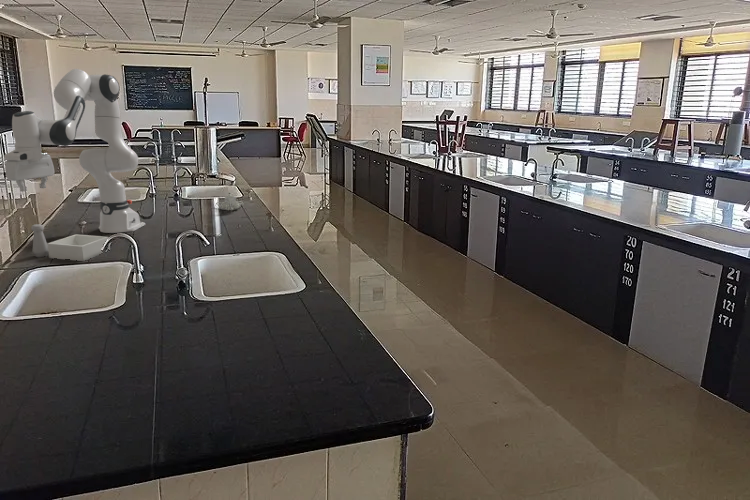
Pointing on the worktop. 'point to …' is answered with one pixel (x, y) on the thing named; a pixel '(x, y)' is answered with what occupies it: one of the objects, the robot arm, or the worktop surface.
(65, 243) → the box
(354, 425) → the worktop surface
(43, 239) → the salt shaker
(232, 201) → the skeletal model
